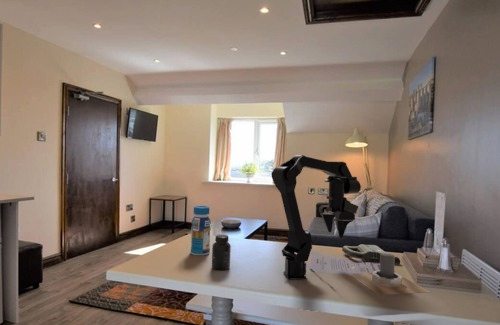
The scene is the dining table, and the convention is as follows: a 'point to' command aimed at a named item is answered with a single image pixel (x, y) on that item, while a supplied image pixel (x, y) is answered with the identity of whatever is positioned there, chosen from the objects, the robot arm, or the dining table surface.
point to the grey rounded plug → (387, 265)
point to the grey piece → (366, 253)
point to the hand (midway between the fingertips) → (335, 234)
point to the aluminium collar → (387, 280)
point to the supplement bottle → (221, 253)
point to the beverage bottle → (200, 231)
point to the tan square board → (382, 290)
